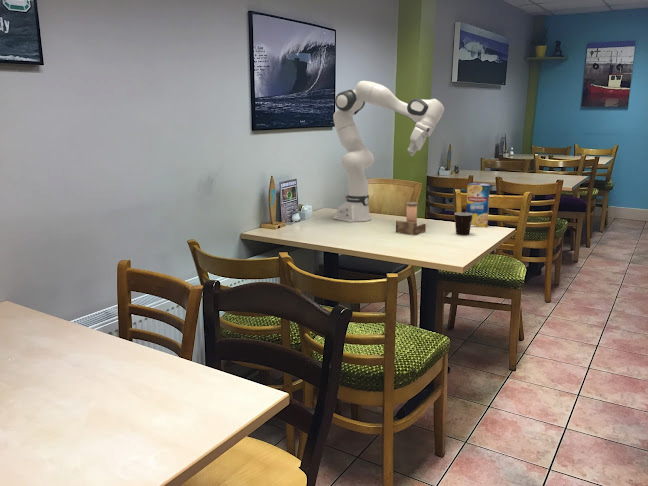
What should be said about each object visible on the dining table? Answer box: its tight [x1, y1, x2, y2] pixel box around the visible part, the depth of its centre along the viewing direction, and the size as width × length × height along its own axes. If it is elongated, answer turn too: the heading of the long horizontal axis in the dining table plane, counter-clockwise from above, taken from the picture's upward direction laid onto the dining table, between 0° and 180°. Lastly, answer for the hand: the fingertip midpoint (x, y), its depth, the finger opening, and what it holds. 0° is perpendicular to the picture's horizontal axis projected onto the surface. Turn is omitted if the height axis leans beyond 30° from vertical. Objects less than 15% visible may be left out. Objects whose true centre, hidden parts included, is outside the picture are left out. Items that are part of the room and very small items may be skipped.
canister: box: [405, 201, 418, 224], centre depth 274 cm, size 6×6×15 cm
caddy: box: [395, 220, 427, 236], centre depth 274 cm, size 11×10×6 cm
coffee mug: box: [454, 212, 473, 236], centre depth 267 cm, size 12×9×10 cm
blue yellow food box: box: [465, 182, 491, 228], centre depth 286 cm, size 7×11×22 cm, turn 70°
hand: (409, 153), depth 278 cm, fingers open, 8 cm apart
